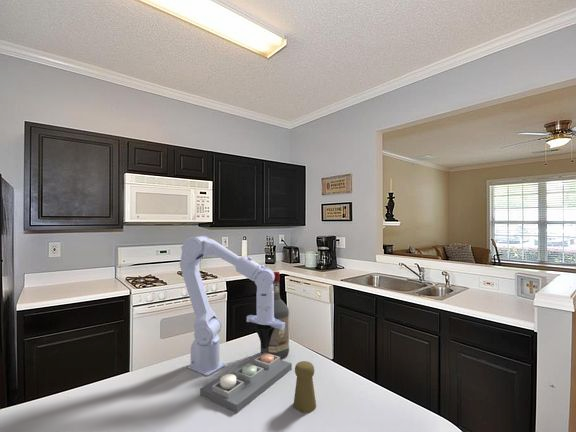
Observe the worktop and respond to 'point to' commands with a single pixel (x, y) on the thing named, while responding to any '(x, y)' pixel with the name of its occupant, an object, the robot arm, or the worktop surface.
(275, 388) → the worktop surface
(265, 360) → the terracotta button
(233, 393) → the button panel
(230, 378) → the cream button
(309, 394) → the olive pawn
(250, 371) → the sage button
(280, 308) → the liquor
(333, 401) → the worktop surface
